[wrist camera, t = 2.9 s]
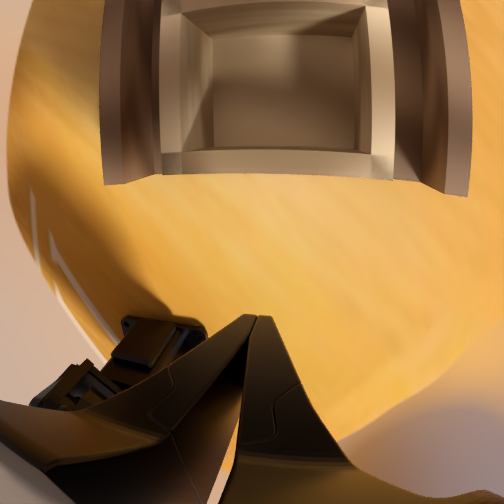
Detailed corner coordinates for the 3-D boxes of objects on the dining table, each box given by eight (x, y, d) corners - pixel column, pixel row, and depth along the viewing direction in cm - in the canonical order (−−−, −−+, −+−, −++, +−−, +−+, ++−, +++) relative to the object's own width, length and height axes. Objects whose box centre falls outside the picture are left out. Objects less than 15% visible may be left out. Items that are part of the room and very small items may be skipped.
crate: (368, 166, 13) (393, 180, 9) (202, 162, 15) (162, 174, 11) (365, 28, 11) (385, -9, 7) (200, 31, 12) (161, 0, 8)
